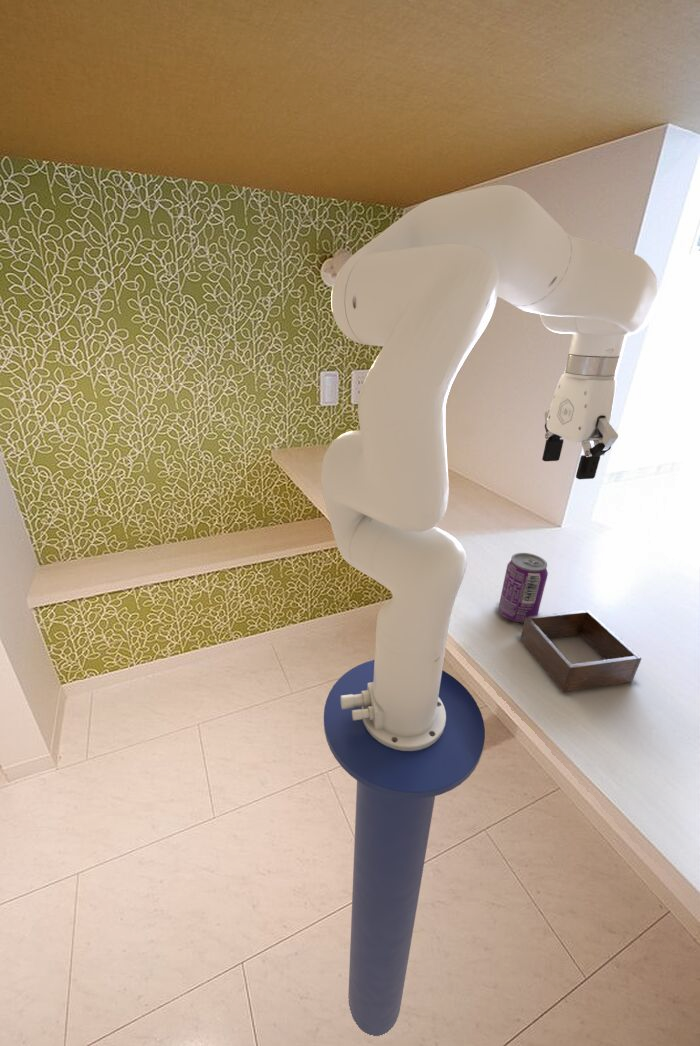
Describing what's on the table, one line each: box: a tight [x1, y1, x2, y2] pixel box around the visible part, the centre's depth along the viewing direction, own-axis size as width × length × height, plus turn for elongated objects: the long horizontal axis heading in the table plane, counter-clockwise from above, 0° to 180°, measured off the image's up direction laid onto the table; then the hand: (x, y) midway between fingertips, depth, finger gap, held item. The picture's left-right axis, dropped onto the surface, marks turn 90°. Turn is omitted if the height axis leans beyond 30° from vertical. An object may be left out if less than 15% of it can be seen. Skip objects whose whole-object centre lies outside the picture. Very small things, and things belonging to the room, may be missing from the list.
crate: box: [519, 609, 642, 693], centre depth 72 cm, size 12×12×5 cm
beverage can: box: [498, 552, 549, 624], centre depth 82 cm, size 7×7×12 cm
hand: (566, 469), depth 77 cm, fingers open, 9 cm apart
